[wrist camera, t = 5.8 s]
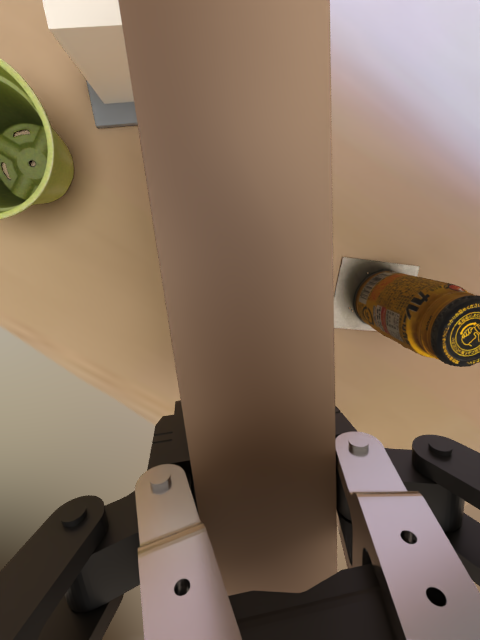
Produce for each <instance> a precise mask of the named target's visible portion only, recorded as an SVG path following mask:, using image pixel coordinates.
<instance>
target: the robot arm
mask: <svg viewBox="0 0 480 640" xmlns="http://www.w3.org/2000/svg"><path fill="white" fill-rule="evenodd" d="M335 441H336V515H337V526H338V530H339V534H340V538H341V542H342V547H343V551H344V555H345V559H346V563H347V567H348V569H345V570H341V571H339V572H338V573H336V574H334V575H332V576H331V577H329V578H327V579H326V580H324V581H322V582H320V583H319V584H317V585H315V586H314V587H312V588H310V589H308V590H307V591H305V592H301V593H289V592H272V591H255V590H252V591H248V592H243V593H239V594H235V595H230V596H228V594H227V591H226V588H225V585H224V582H223V579H222V576H221V573H220V570H219V567H218V564H217V561H216V558H215V555H214V551H213V548H212V545H211V542H210V539H209V536H208V533H207V530H206V527H205V525H204V523H203V522H200V519H199V513H198V507H197V500H196V494H195V488H194V481H193V475H192V469H191V462H190V456H189V449H188V443H187V437H186V430H185V424H184V417H183V411H182V405H181V400H180V401H176V402H175V412H174V415H169V416H163V417H162V418H161V419H160V421H159V422H158V423H157V424H156V426H155V431H154V437H153V442H152V443H153V444H152V447H151V453H150V459H149V464H148V469H147V471H146V472H145V473H144V474H142V476H141V477H140V478H139V479H138V481H137V483H136V485H135V491H134V492H132V493H131V494H129V495H128V496H126V497H124V498H122V499H120V500H117V501H115V502H113V503H110V504H108V505H106V506H104V502H103V501H102V499H100V498H99V497H97V496H89V495H88V496H82V497H78V498H75V499H73V500H71V501H69V502H67V503H65V504H63V505H62V506H61V507H59V508H58V509H57V510H56V511H55V512H54V513H53V514H52V515H51V516H50V517H49V518H48V519H47V520H46V521H45V522H44V523H43V525H42V526H41V527H40V528H39V529H38V530H37V531H36V532H35V534H34V535H33V536H32V537H31V538H30V539H29V540H28V541H27V542H26V543H25V545H24V546H23V547H22V548H21V549H20V550H19V551H18V552H17V554H16V555H15V556H14V557H13V558H12V559H11V560H10V561H9V562H8V563H7V564H6V566H5V567H4V568H3V569H2V570H1V571H0V640H102V638H103V636H104V634H105V632H106V630H107V628H108V626H109V624H110V622H111V620H112V618H113V617H114V614H115V613H116V611H117V609H118V607H119V605H120V603H121V600H122V598H123V595H124V593H125V592H127V591H129V590H131V589H132V588H134V587H136V586H138V585H140V587H141V588H140V589H141V601H142V613H143V626H144V638H145V640H480V593H479V591H478V589H477V588H476V586H475V584H474V583H473V581H474V582H475V583H476V584H478V585H479V586H480V523H479V522H477V521H476V520H474V519H472V518H471V517H469V516H467V515H466V514H465V513H463V511H464V503H465V501H466V502H468V503H470V504H471V505H473V506H475V507H476V508H478V509H479V510H480V453H478V452H476V451H474V450H472V449H470V448H468V447H466V446H464V445H462V444H460V443H458V442H456V441H454V440H451V439H449V438H446V437H443V436H438V435H422V436H419V437H417V438H415V439H414V441H413V443H412V450H404V449H388V448H384V447H383V445H382V443H381V442H380V441H379V440H378V439H376V438H375V437H373V436H371V435H369V434H366V433H362V432H357V430H356V429H355V428H354V427H353V426H352V424H351V423H350V422H349V421H348V420H347V418H346V417H345V416H344V415H343V414H342V413H341V412H340V410H339V409H338V408H337V407H336V406H335ZM472 580H473V581H472Z"/></svg>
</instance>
